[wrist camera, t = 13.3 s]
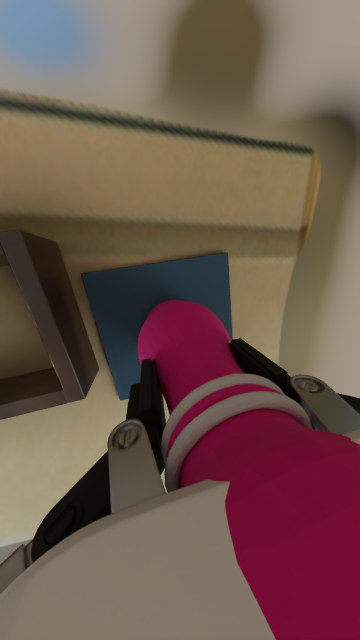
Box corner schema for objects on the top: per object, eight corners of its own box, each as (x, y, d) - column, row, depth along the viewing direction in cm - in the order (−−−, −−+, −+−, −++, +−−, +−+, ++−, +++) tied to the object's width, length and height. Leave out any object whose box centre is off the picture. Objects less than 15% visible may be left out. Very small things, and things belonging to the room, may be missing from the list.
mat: (120, 397, 19) (120, 400, 19) (82, 273, 15) (80, 273, 15) (232, 369, 21) (234, 371, 21) (225, 253, 17) (228, 252, 17)
